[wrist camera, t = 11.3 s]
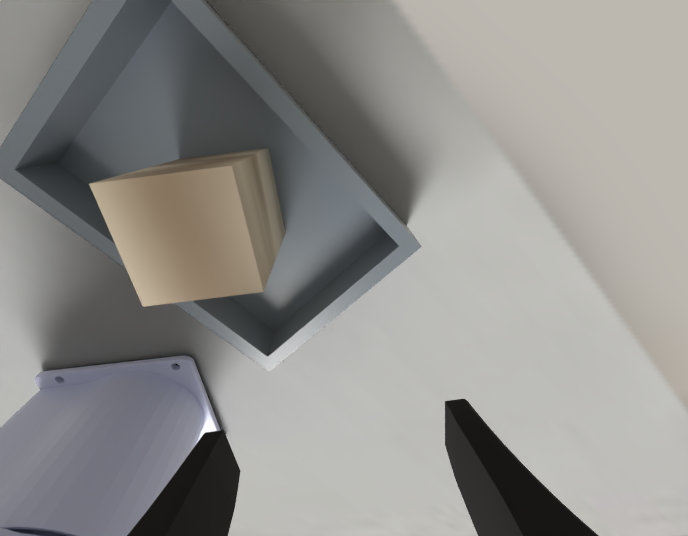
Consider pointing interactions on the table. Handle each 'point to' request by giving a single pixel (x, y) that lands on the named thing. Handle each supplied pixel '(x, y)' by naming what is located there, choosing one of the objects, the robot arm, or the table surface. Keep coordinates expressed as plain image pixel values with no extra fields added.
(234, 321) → the tray
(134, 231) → the block
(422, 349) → the table surface
